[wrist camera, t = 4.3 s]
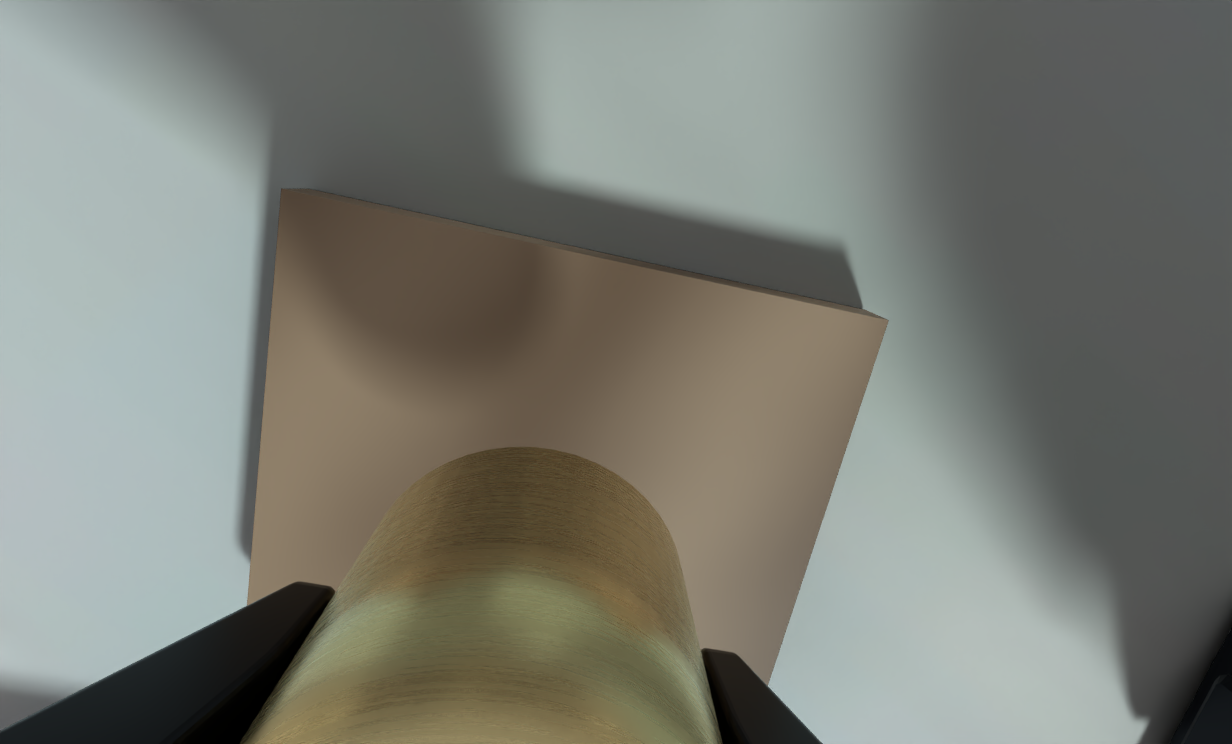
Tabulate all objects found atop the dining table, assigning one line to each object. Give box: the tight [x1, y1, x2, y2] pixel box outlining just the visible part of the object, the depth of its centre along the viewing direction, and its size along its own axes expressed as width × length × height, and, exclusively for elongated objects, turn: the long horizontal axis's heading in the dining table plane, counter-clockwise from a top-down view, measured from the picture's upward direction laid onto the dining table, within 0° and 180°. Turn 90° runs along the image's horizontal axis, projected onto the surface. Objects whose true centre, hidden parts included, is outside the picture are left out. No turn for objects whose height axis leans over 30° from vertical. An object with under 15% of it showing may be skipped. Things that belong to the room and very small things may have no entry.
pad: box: [247, 189, 889, 686], centre depth 12 cm, size 10×8×1 cm
